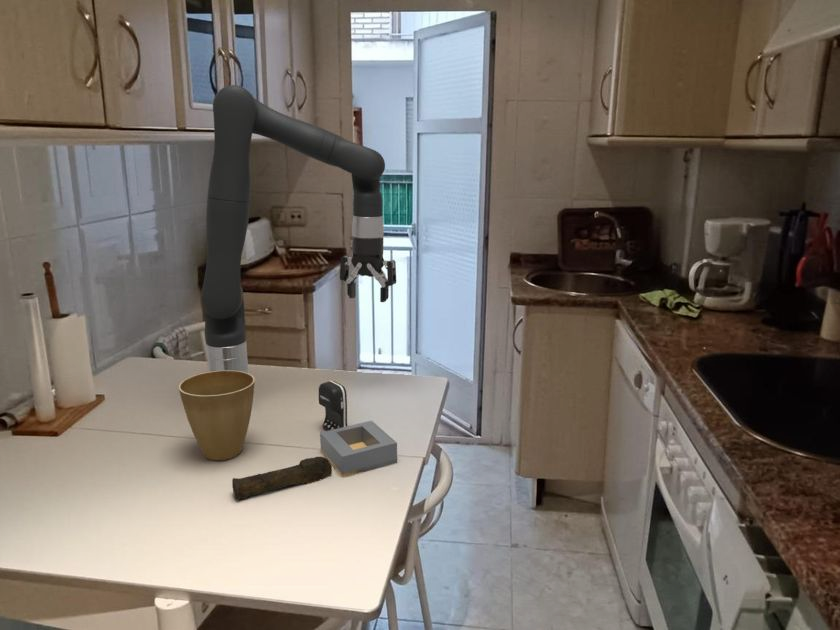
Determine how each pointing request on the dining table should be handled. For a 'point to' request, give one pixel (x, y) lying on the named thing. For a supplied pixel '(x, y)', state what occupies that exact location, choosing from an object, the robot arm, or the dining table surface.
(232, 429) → the plant pot
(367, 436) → the dock
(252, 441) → the dining table surface
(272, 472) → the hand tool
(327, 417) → the battery charger
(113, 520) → the dining table surface
